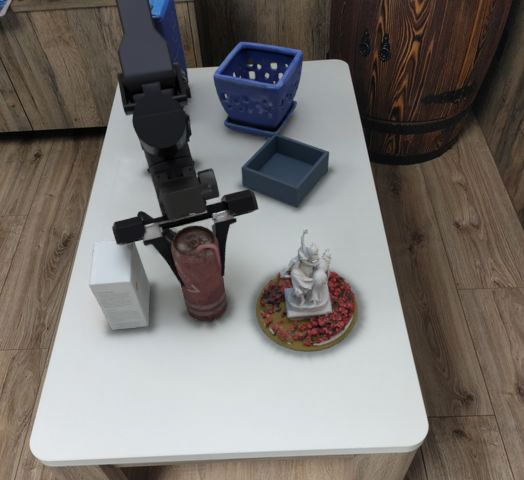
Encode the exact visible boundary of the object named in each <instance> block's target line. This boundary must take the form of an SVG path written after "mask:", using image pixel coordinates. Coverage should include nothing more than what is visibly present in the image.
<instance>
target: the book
mask: <svg viewBox="0 0 524 480" xmlns="http://www.w3.org/2000/svg"><path fill="white" fill-rule="evenodd" d="M149 4H150V8H151V13H152V17H153V22H154V26H155V29H156V31H157V32H158V33H159V34H160V35H161V36H162V37H163V38H164V39H165V40H166V41H167V43H168V45H169V49H170V53H171V58H172V62H173V63H177V62H178V64H179V65H180V68H181V70H183V71H184V72H185V75H186V78H187V81H188V83H189V75H188V68H187V62H186V58H185V53H184V46H183V42H182V35H181V31H180V25H179V19H178V14H177V8H176V3H175V0H149ZM181 107H183V109H184V108H185V105H183V106H181Z"/></svg>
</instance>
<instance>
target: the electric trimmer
mask: <svg viewBox="0 0 524 480" xmlns="http://www.w3.org/2000/svg"><path fill="white" fill-rule="evenodd" d="M137 216H142V218H143V221H145V220H149V219H153V218H154V217H153V216H151V215H149V214H148V213H147V212H145V211H143V210H140V211H138V212H137V214H136V217H137ZM161 234H162V236H165V237H166V239H167V242H168V244H169V246H170V249H171V245H172V242H173V238H174V236H175V235H176V234H177V232H175V231H173V230H172V229H167V230H163V233H161Z"/></svg>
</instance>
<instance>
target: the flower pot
mask: <svg viewBox="0 0 524 480" xmlns="http://www.w3.org/2000/svg"><path fill="white" fill-rule="evenodd" d="M249 60H250V61H251V62H252V65H250V64H248V61H249ZM303 62H304V52H303V50H301V49H295V48H290V47H284V46H278V45H272V44H265V43H264V44H263V43H258V42H250V41H240V42H238V44H236V46H234V47H233V49H232V50H231V51H230V52H229V53H228V55H227V56H226V57H225V59H224V60H223V61H222V63H221V64H220V65H219V66H218V67H217V69H216V70H215V71H214V73H213V76H212V77H213V82H214V87H215V92H216V94H217V97H218V100H219V102H220V105H221V107H222V108H223V110H224V112H225V113H226V115H227V116H226V118H225V120H224V121H223V125H224V127H226V129H229V130H231V131H235V132H239V133H243V134H248V135H253V136H256V137H261V138H266V139H270V138H271V137H272V136H273V135H274V134H275V133H276V134H279V135H280V133H281V131H282V130H283V128H284V127H285V125H286V124H287V122H288V120H290V118H291V116H292V114H293V113H294V111H295V110H296V108H297V105H298V101H297V100H294V99H295V97H296V94H297V92H298V89H299V85H300V81H301V76H302V70H303ZM272 63H276V68H272V65H271V64H272ZM258 65H259V66H260V68H258ZM250 72H254V78H251V77H250ZM266 74H268V77H267V76H266ZM279 74H282V76H281V77H280V75H279Z"/></svg>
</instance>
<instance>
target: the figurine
mask: <svg viewBox="0 0 524 480" xmlns="http://www.w3.org/2000/svg"><path fill="white" fill-rule="evenodd" d="M308 230H309V229H308V228H307V229H303V231H302V235H301V237H300V246H299V247H298V249H297V255H295V256H294V257H292V258H291V259H290V261H289V262H288V265H287V267H285V269H284V270H282V272H281V271H279V273H276V275H277V276H276V277H274V278H272V279H270V281H269V282H268V283H267V284H266V285H265V286H264V287H263V288H262V290H261V291H260V293H259V295H258V297H257V299H256V304H255V313H256V314H255V315H256V320H257V322H258V325H259V326H260V328H261V330H262V332H263V333H264V334H265V335H266V336H267V337H268V338H269V339H270V340H271V341H273V342H275V343H276V344H278V345H279V346H282V347H284V348H286V349H290V350H294V351H298V352H315V351H316V352H317V351H321V350H326V349H329V348H331V347H333V346H336V345H337V344H338V343H340V342H342V341H343V340H345V339H346V337H348V335H350V333H351V332H352V330H353V329H354V327H355V325H356V322H357V320H358V319H357V318H358V313H359V311H358V308H359V307H358V302H357V299H356V294H355V293H354V292H353V291H352V290H351V288H352V287H351V285H350V282H348V283H347V282H346V279H345V278H344V277H342V276H341V275H339V274H338V272H336V271H330V265H331V261H332V252H331V251H330V248H326V249H325V252H323V253H322V255H321V254H320V252H319V251H320V250H319V246H318V245H317V243H316V242H312V243H311V244H310V245H309V247H308V246H306V245H305V235H307V234H308V233H309V231H308Z"/></svg>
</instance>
